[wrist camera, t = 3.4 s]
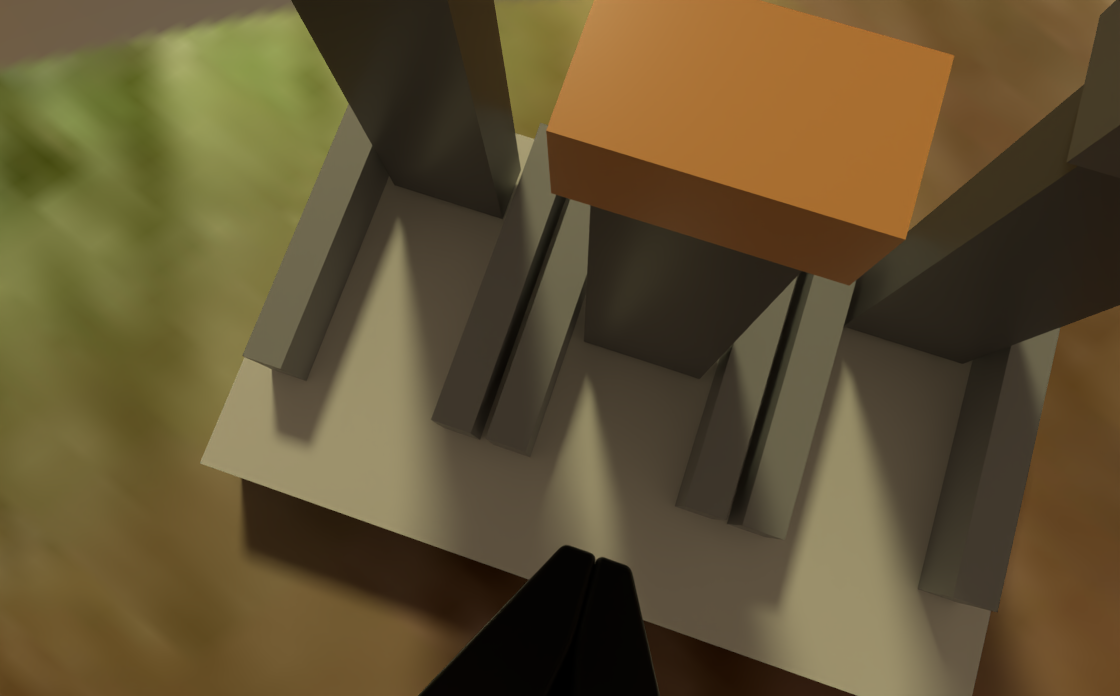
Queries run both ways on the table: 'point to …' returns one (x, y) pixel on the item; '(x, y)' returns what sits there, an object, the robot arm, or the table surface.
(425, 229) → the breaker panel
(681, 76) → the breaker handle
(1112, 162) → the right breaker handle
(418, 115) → the handle
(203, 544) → the table surface
